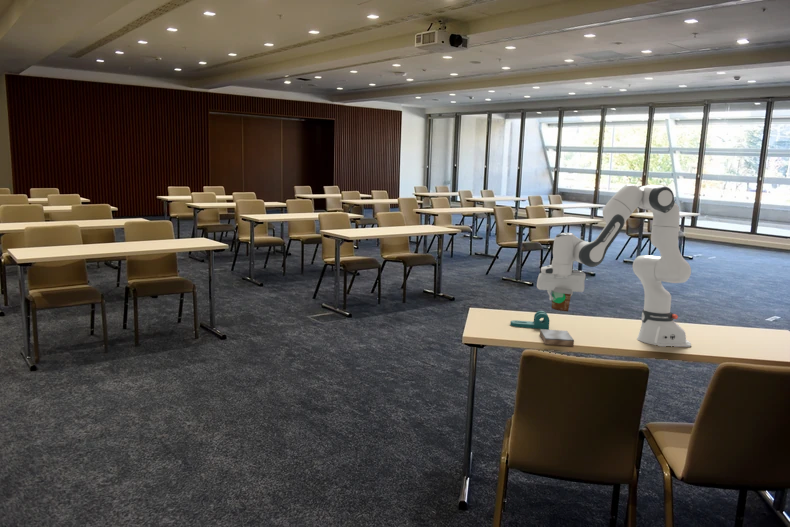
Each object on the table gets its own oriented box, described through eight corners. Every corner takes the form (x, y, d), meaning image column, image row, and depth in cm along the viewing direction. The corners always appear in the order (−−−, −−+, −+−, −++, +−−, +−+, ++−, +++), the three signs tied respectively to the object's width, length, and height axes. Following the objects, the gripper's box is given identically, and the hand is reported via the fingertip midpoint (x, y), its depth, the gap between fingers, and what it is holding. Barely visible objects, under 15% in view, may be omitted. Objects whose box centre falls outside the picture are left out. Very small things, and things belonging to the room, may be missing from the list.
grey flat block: (566, 337, 278) (566, 330, 277) (573, 346, 262) (574, 339, 262) (539, 335, 279) (540, 329, 278) (545, 345, 263) (545, 338, 263)
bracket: (547, 327, 297) (548, 311, 295) (548, 330, 290) (549, 314, 289) (510, 324, 299) (511, 308, 298) (510, 327, 293) (511, 311, 292)
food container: (543, 305, 274) (546, 283, 272) (556, 306, 275) (558, 284, 274) (556, 311, 262) (559, 289, 260) (569, 312, 263) (572, 289, 262)
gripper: (584, 269, 268) (581, 300, 270) (537, 267, 270) (535, 298, 272) (587, 272, 262) (584, 303, 264) (539, 269, 264) (537, 300, 265)
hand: (559, 300), depth 268 cm, fingers closed on food container, 5 cm apart
